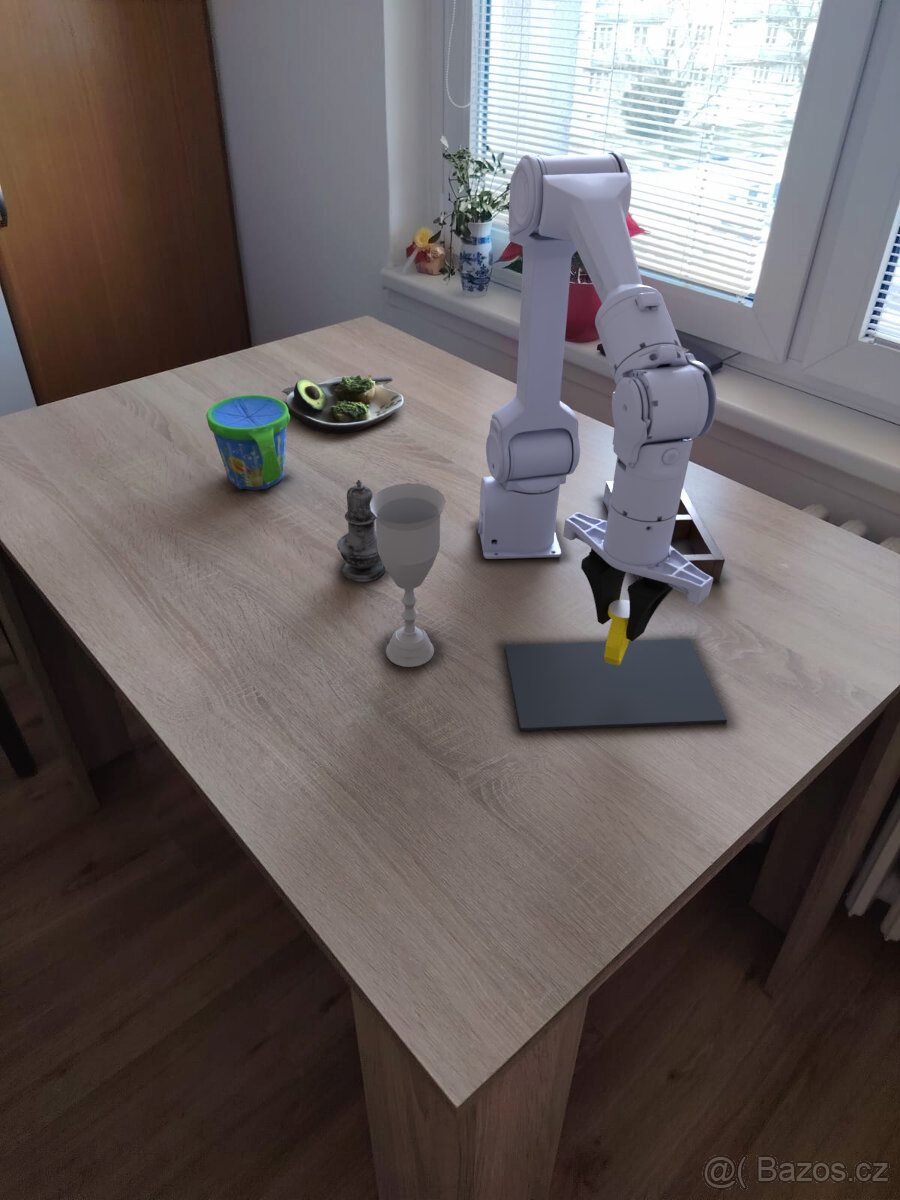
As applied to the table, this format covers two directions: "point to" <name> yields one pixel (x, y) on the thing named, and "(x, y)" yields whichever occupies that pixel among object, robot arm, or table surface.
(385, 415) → the avocado toast plate
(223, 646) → the table surface
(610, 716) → the mat
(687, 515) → the compartment tray
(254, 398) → the snack cup
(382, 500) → the chalice
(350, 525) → the salt shaker
